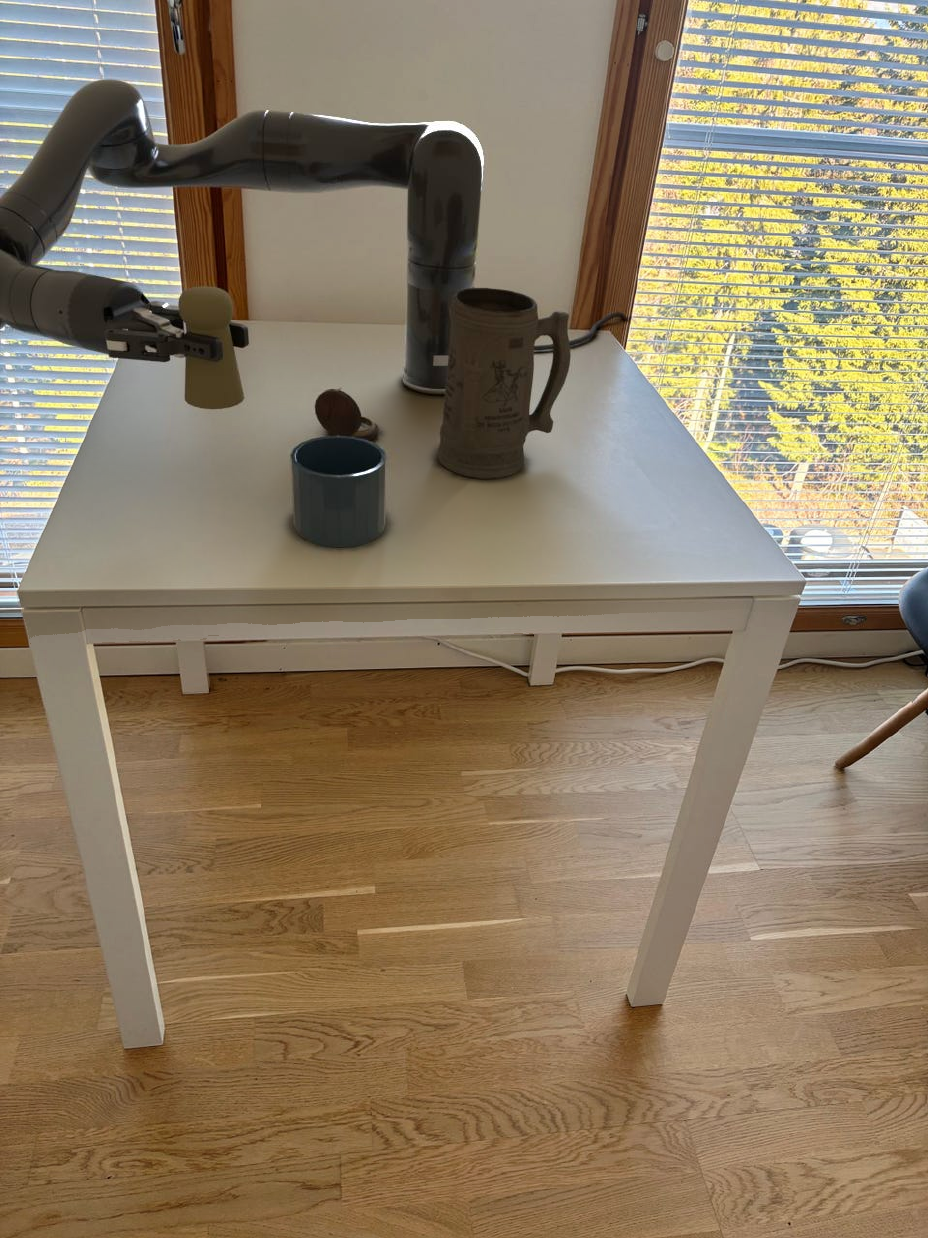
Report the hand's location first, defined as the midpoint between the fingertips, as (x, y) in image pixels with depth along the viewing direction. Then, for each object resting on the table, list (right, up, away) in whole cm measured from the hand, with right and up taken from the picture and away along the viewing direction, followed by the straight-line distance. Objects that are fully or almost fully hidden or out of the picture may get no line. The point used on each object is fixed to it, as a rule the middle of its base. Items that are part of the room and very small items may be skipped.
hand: (233, 343), depth 89 cm
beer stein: (+27, -7, +23) cm, 36 cm away
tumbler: (+10, -17, +7) cm, 21 cm away
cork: (-3, -4, +4) cm, 7 cm away
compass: (+8, -4, +26) cm, 27 cm away
